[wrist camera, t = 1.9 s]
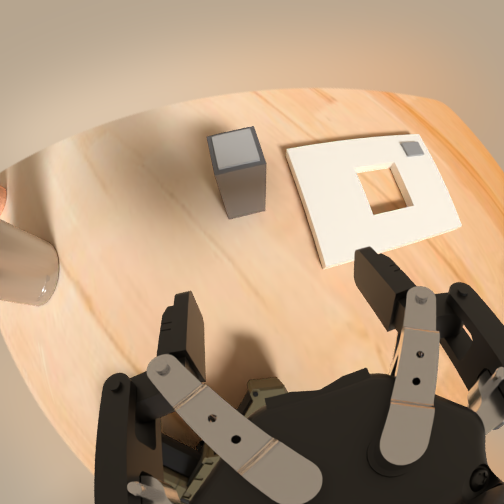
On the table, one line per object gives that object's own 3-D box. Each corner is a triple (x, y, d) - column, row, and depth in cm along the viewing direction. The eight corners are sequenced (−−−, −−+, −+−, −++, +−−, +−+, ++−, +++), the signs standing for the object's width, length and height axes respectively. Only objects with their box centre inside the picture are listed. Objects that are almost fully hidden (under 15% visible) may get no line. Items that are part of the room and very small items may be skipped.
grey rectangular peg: (228, 219, 29) (214, 173, 20) (221, 187, 30) (206, 134, 20) (265, 210, 29) (266, 161, 20) (256, 179, 30) (253, 123, 21)
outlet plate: (322, 269, 27) (327, 266, 26) (285, 156, 31) (286, 146, 29) (455, 229, 28) (463, 224, 26) (414, 139, 31) (420, 132, 29)
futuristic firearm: (167, 328, 20) (83, 506, 13) (440, 434, 19) (326, 572, 12) (181, 326, 27) (105, 480, 20) (406, 420, 26) (312, 545, 19)
